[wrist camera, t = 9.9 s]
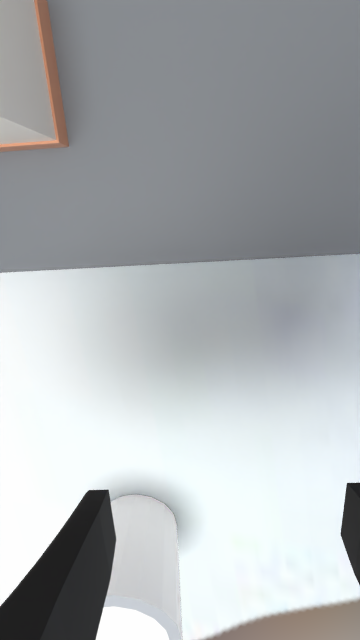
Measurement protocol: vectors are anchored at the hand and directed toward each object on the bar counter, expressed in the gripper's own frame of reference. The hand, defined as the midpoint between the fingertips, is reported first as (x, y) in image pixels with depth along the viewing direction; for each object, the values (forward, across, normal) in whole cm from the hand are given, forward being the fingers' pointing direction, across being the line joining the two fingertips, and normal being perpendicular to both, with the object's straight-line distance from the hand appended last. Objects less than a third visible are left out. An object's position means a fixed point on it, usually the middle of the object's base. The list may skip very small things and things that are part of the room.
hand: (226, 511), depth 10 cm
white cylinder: (+11, +6, +13) cm, 18 cm away
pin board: (+10, +2, -14) cm, 18 cm away
